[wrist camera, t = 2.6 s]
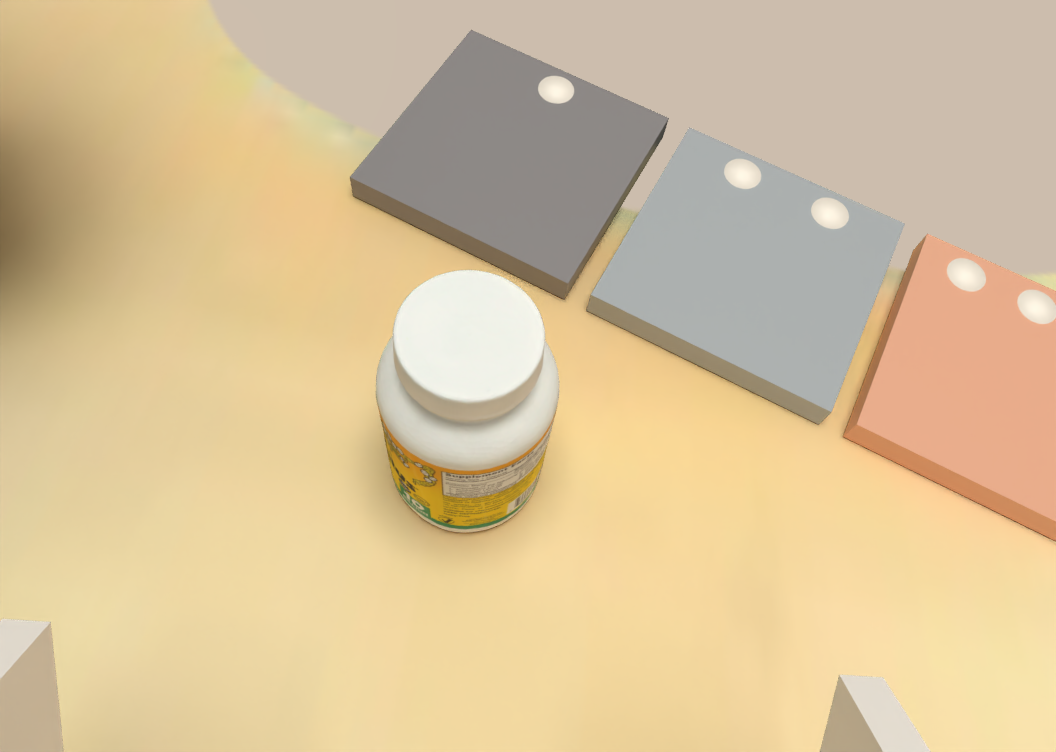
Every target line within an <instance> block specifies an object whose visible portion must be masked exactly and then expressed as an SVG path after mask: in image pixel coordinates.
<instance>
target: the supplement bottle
mask: <svg viewBox="0 0 1056 752" xmlns="http://www.w3.org/2000/svg"><path fill="white" fill-rule="evenodd" d="M558 398H559V376H558V369H557V366H556V362H555V359H554V356H553V354H552V352H551V350H550V348H549V346H548V344H547V343H546V341H545V329H544V324H543V321H542V317H541V315H540V312H539V310H538V308H537V307H536V305H535V304H534V302H533V301H532V299H531V298H530V297H529V296H528V295H527V294H526V293H525V292H524V291H523V290H522V289H521V288H520V287H518V286H517V285H515V284H514V283H512V282H511V281H509V280H507V279H505V278H503V277H500V276H498V275H495V274H492V273H488V272H482V271H476V270H459V271H453V272H448V273H444V274H441V275H438V276H435V277H433V278H431V279H429V280H427V281H426V282H424V283H422V284H421V285H419V286H418V287H417V288H415V289H414V290H413V291H412V292H411V293H410V294H409V295H408V296H407V297H406V299H405V300H404V302H403V304H402V305H401V307H400V309H399V310H398V313H397V316H396V319H395V322H394V327H393V336H392V337H391V339H390V340H389V342H388V343H387V345H386V347H385V349H384V351H383V353H382V356H381V358H380V362H379V365H378V369H377V376H376V399H377V404H378V408H379V413H380V418H381V422H382V427H383V431H384V437H385V442H386V447H387V452H388V457H389V462H390V467H391V471H392V476H393V480H394V482H395V485H396V487H397V490H398V492H399V493H400V495H401V497H402V498H403V500H404V501H405V502H406V503H407V504H408V505H409V506H410V507H411V508H412V510H414V511H415V512H416V513H417V514H418V515H419V516H421V517H422V518H423V519H424V520H426V521H427V522H429V523H431V524H432V525H435V526H437V527H439V528H441V529H445V530H448V531H453V532H477V531H482V530H486V529H490V528H493V527H495V526H498V525H500V524H502V523H503V522H505V521H507V520H508V519H510V518H511V517H512V516H514V515H515V514H516V513H517V512H518V511H520V510H521V508H522V507H523V506H524V505H525V504H526V503H527V501H528V500H529V498H530V497H531V495H532V493H533V491H534V489H535V487H536V484H537V482H538V479H539V475H540V472H541V468H542V465H543V461H544V456H545V452H546V448H547V444H548V440H549V437H550V433H551V429H552V425H553V421H554V417H555V414H556V409H557V404H558Z"/></svg>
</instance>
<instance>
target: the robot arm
mask: <svg viewBox="0 0 1056 752" xmlns="http://www.w3.org/2000/svg"><path fill="white" fill-rule="evenodd" d="M0 752H64V748H63V739H62V729H61V719H60V709H59V700H58V690H57V680H56V670H55V661H54V651H53V641H52V631H51V622H42V621H27V620H12V619H2V620H1V621H0ZM820 752H931V751H930V750H929V748H928V747H927V745H926V744H925V742H924V740H923V739H922V737H921V736H920V734H919V733H918V731H917V730H916V728H915V726H914V725H913V723H912V722H911V720H910V719H909V717H908V716H907V714H906V712H905V711H904V709H903V708H902V706H901V705H900V703H899V701H898V700H897V698H896V697H895V695H894V694H893V692H892V691H891V689H890V687H889V686H888V684H887V683H886V681H885V680H884V678H882V677H867V676H852V675H839V678H838V682H837V686H836V690H835V694H834V698H833V702H832V706H831V709H830V713H829V717H828V721H827V725H826V729H825V733H824V737H823V741H822V745H821V749H820Z"/></svg>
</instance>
